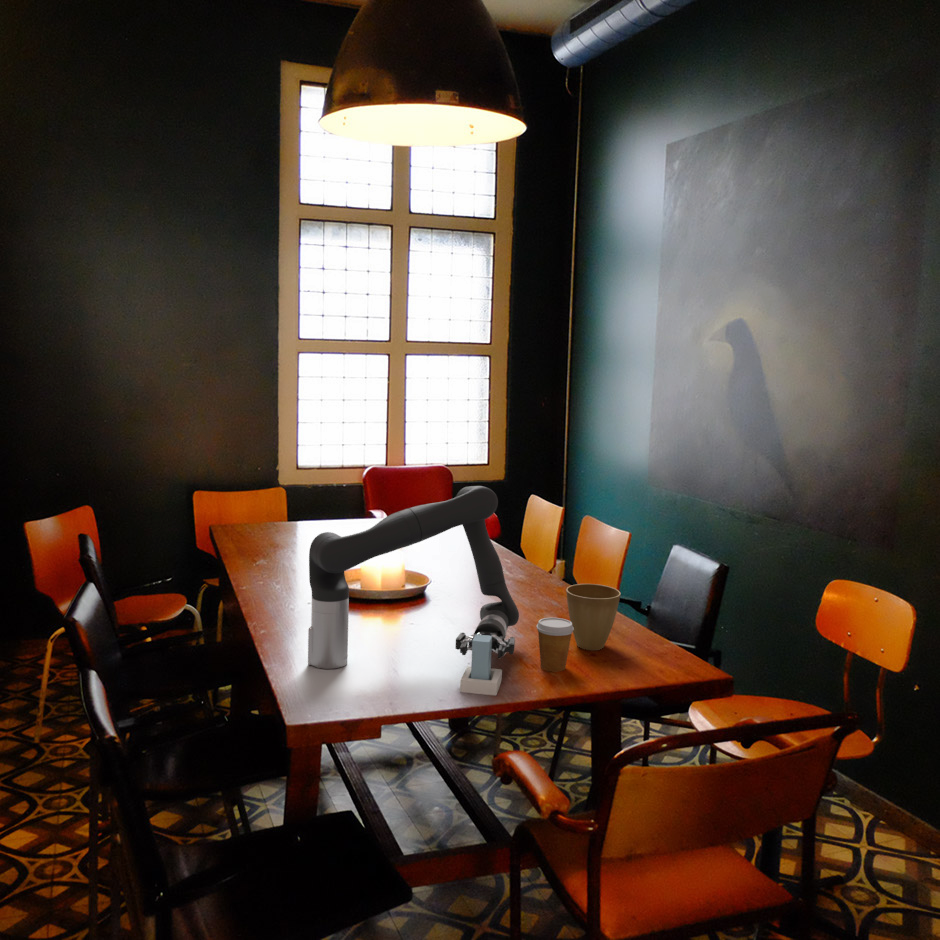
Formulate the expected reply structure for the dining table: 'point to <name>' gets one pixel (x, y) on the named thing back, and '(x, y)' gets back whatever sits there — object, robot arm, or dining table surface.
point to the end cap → (481, 683)
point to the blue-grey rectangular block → (481, 657)
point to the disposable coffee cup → (554, 642)
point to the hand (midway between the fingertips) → (481, 652)
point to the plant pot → (592, 613)
